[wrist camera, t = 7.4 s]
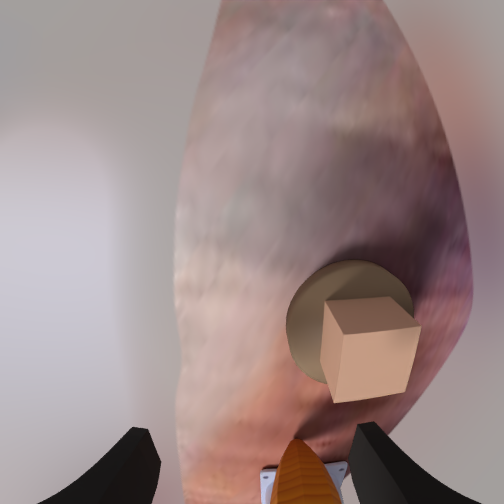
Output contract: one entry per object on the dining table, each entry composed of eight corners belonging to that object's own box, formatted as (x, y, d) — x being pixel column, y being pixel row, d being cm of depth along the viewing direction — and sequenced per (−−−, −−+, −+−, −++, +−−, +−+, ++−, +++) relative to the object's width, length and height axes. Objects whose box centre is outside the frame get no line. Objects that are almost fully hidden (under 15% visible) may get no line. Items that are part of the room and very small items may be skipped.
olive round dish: (391, 360, 19) (401, 375, 17) (284, 372, 19) (287, 390, 18) (406, 255, 18) (421, 263, 16) (284, 261, 18) (288, 271, 16)
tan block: (380, 354, 17) (404, 391, 13) (320, 361, 17) (333, 403, 13) (389, 296, 16) (421, 325, 12) (324, 300, 16) (343, 334, 12)
